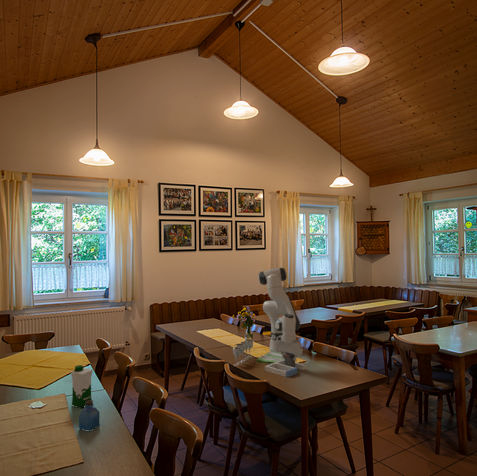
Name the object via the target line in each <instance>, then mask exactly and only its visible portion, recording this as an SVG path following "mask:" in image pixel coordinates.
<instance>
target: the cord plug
mask: <svg viewBox="0 0 477 476" xmlns="http://www.w3.org/2000/svg"><path fill="white" fill-rule="evenodd" d="M285 353H286V354H285V365H287V366H290V367H294V368H295V362H296V361H293V358H294V357H295V356H294V354H291V353H287V352H285Z"/></svg>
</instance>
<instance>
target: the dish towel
mask: <svg viewBox="0 0 477 476" xmlns="http://www.w3.org/2000/svg"><path fill="white" fill-rule="evenodd" d="M286 353H287V352H284V355H285V354H286ZM281 360H285V358H282V354H281V352H276V351H272V350H269V352H267V353H265V354H263V355H261V356H259V357H258V358H256V360H255V361H256V362H259V363H264V364H267V365H270V364H272V363H275V362H278V361H281Z"/></svg>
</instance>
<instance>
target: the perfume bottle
mask: <svg viewBox="0 0 477 476" xmlns="http://www.w3.org/2000/svg"><path fill="white" fill-rule="evenodd" d="M93 402H94V400H88V401H86V404H85V407H84V408H83V409H82V410H81V412H80V414H79V416H78V429H79V428H80V429H84V430H89V431H90V430H92V429H94V428H95V427H97V426H98V427H100V411H99V410H98V409H97V407H94V403H93ZM98 427H97V428H98ZM95 429H96V428H95ZM95 429H94V430H95ZM92 431H93V430H92Z"/></svg>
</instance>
